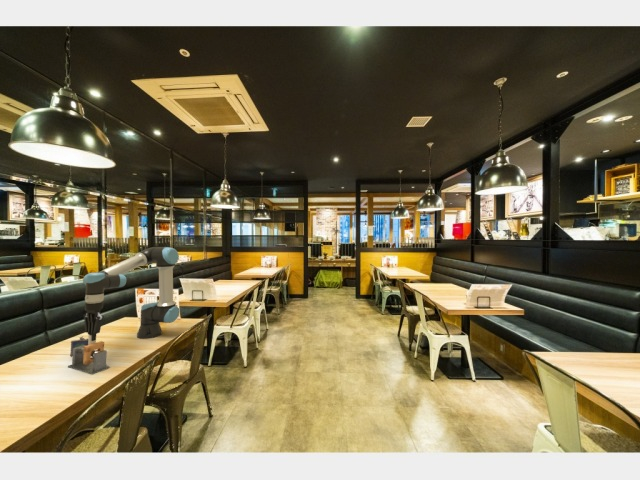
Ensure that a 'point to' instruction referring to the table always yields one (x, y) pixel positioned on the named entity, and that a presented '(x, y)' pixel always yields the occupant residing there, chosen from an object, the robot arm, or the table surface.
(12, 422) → the table surface
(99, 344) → the orange square ring
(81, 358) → the pipe rail
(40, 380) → the table surface
